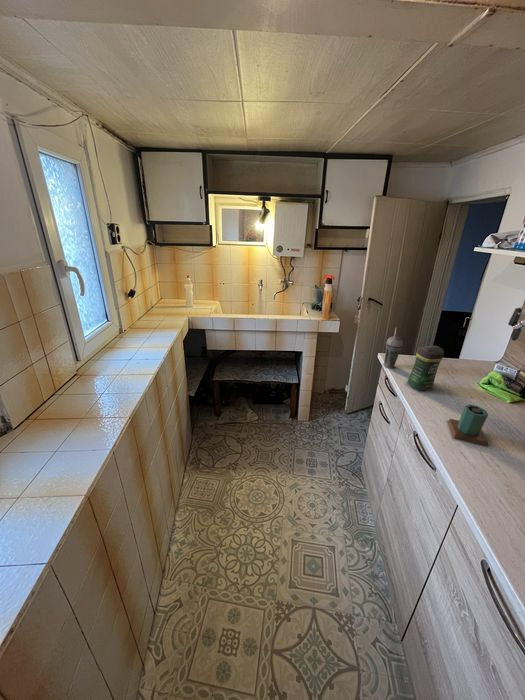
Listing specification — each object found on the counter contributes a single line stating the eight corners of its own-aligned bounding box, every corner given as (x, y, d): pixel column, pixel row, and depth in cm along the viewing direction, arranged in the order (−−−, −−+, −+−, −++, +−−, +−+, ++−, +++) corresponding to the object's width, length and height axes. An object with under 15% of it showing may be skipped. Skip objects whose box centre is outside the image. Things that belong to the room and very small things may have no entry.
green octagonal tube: (475, 426, 95) (484, 407, 92) (480, 437, 90) (490, 417, 87) (455, 422, 97) (463, 403, 94) (460, 433, 92) (468, 413, 89)
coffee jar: (417, 392, 116) (430, 352, 108) (403, 383, 123) (415, 344, 115) (435, 389, 119) (449, 350, 111) (421, 380, 126) (433, 342, 118)
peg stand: (477, 428, 97) (488, 405, 93) (486, 446, 89) (497, 422, 85) (448, 421, 100) (456, 399, 96) (454, 438, 92) (463, 414, 88)
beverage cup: (399, 369, 134) (410, 330, 126) (384, 369, 134) (394, 330, 126) (392, 362, 141) (402, 325, 132) (378, 362, 141) (387, 324, 132)
